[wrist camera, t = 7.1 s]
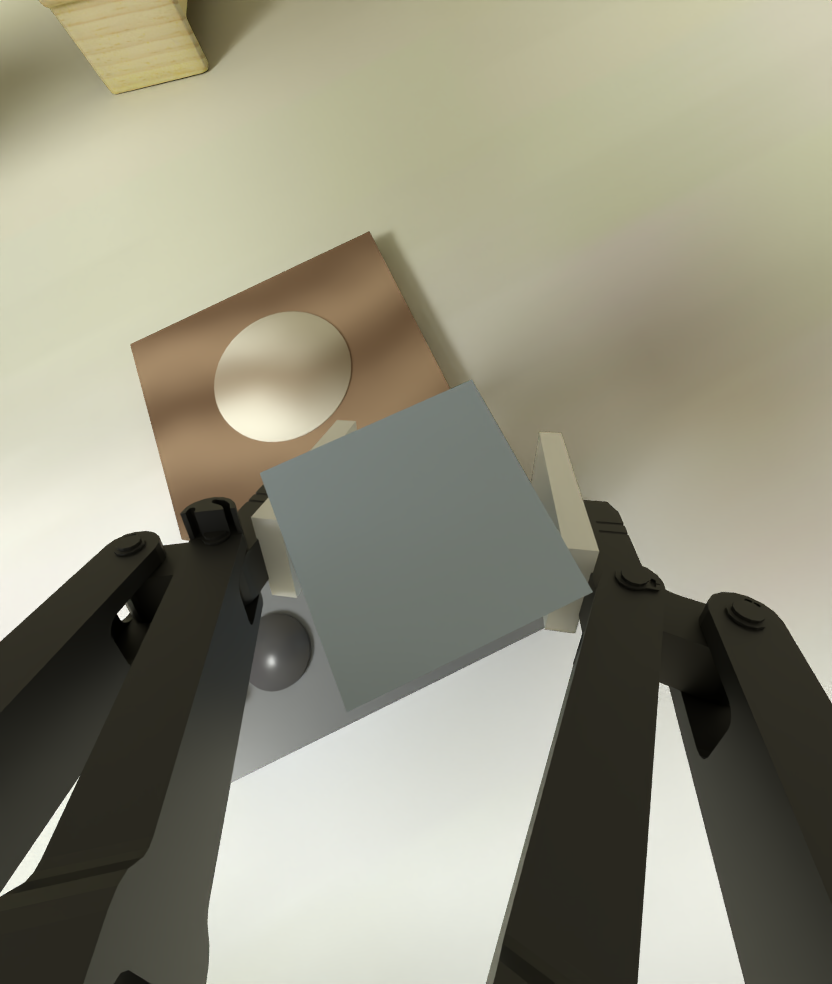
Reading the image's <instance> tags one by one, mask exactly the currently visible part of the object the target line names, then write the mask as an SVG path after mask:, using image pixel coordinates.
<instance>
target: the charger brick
mask: <svg viewBox="0 0 832 984" xmlns="http://www.w3.org/2000/svg"><path fill="white" fill-rule="evenodd" d="M260 475H261V478H262V481H263V484H264V486H265V489H266V492H267V495H268V497H269V500H270V503H271V506H272V508H273V511H274V514H275V517H276V519H277V522H278V525H279V528H280V530H281V533H282V536H283V539H284V541H285V544H286V547H287V550H288V552H289V555H290V558H291V561H292V563H293V566H294V569H295V572H296V574H297V577H298V580H299V583H300V585H301V588H302V591H303V593H304V596H305V599H306V602H307V604H308V607H309V610H310V613H311V615H312V618H313V621H314V624H315V626H316V629H317V632H318V635H319V637H320V640H321V643H322V646H323V648H324V651H325V654H326V657H327V659H328V662H329V665H330V668H331V670H332V673H333V676H334V679H335V681H336V684H337V687H338V690H339V692H340V695H341V698H342V701H343V703H344V706H345V709H346V711H347V712H349V711H351V710H353V709H355V708H357V707H359V706H361V705H363V704H365V703H367V702H369V701H371V700H373V699H375V698H377V697H379V696H381V695H384V694H386V693H388V692H390V691H392V690H394V689H396V688H398V687H400V686H402V685H404V684H406V683H408V682H410V681H412V680H414V679H416V678H418V677H420V676H422V675H424V674H426V673H429V672H431V671H433V670H435V669H437V668H439V667H441V666H443V665H445V664H447V663H449V662H451V661H453V660H455V659H457V658H459V657H461V656H463V655H465V654H467V653H469V652H471V651H474V650H476V649H478V648H480V647H482V646H484V645H486V644H488V643H490V642H492V641H494V640H496V639H498V638H500V637H502V636H504V635H506V634H508V633H510V632H512V631H514V630H516V629H519V628H521V627H523V626H525V625H527V624H529V623H531V622H533V621H535V620H537V619H539V618H541V617H543V616H545V615H547V614H549V613H551V612H553V611H555V610H557V609H559V608H561V607H564V606H566V605H568V604H570V603H572V602H574V601H576V600H578V599H580V598H582V597H584V596H586V595H588V594H590V593H592V592H593V591H592V590H591V588H590V586H589V584H588V583H587V581H586V579H585V577H584V576H583V574H582V572H581V570H580V569H579V567H578V565H577V563H576V562H575V560H574V558H573V556H572V555H571V553H570V551H569V549H568V547H567V546H566V544H565V542H564V540H563V539H562V537H561V535H560V533H559V532H558V530H557V528H556V526H555V525H554V523H553V521H552V519H551V518H550V516H549V514H548V512H547V511H546V509H545V507H544V505H543V504H542V502H541V500H540V498H539V497H538V495H537V493H536V491H535V490H534V488H533V486H532V484H531V483H530V481H529V479H528V477H527V476H526V474H525V472H524V470H523V469H522V467H521V465H520V463H519V462H518V460H517V458H516V456H515V454H514V453H513V451H512V449H511V447H510V446H509V444H508V442H507V440H506V439H505V437H504V435H503V433H502V432H501V430H500V428H499V426H498V425H497V423H496V421H495V419H494V418H493V416H492V414H491V412H490V411H489V409H488V407H487V405H486V404H485V402H484V400H483V398H482V397H481V395H480V393H479V391H478V390H477V388H476V386H475V384H474V383H473V381H472V380H470V381H467V382H465V383H463V384H460V385H458V386H456V387H454V388H451V389H449V390H447V391H445V392H442V393H440V394H438V395H435V396H433V397H431V398H429V399H426V400H424V401H422V402H420V403H417V404H415V405H413V406H411V407H408V408H406V409H404V410H401V411H399V412H397V413H395V414H392V415H390V416H388V417H386V418H383V419H381V420H379V421H376V422H374V423H372V424H370V425H367V426H365V427H363V428H361V429H358V430H356V431H354V432H352V433H349V434H347V435H345V436H342V437H340V438H338V439H336V440H333V441H331V442H329V443H327V444H324V445H322V446H320V447H317V448H315V449H313V450H311V451H308V452H306V453H304V454H302V455H299V456H297V457H295V458H293V459H290V460H288V461H286V462H283V463H281V464H279V465H277V466H274V467H272V468H270V469H268V470H265V471H263V472H261V473H260Z"/></svg>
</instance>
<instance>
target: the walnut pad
mask: <svg viewBox="0 0 832 984" xmlns="http://www.w3.org/2000/svg"><path fill="white" fill-rule="evenodd" d="M130 345H131V349H132V353H133V357H134V360H135V364H136V368H137V372H138V376H139V379H140V383H141V387H142V391H143V394H144V398H145V402H146V406H147V409H148V413H149V417H150V421H151V425H152V428H153V432H154V436H155V440H156V443H157V447H158V451H159V455H160V459H161V462H162V466H163V470H164V474H165V477H166V481H167V485H168V489H169V493H170V496H171V500H172V504H173V508H174V511H175V515H176V519H177V523H178V527H179V530H180V534H181V538H182V539H183V540H188V541H190V538H189V536H188V533H187V531H186V528H185V525H184V523H183V520H182V518H181V515H180V513H181V512H182V511H183V510H184V509H185V508H186V507H187V506H189V505H191V504H192V503H194V502H197V501H200V500H202V499H206V498H212V497H225V498H229V499H231V500H232V501H234V502H235V504H236V508H237V511H238V510H239V509H240V508H241V507H242V506H243V505H244V504H245V503H246V502H249V499H250V498H251V497H252V496H253V495H254V494H256V492H257V490H258V489H259V488H260V487H261V486H262V485H263V481H262V478H261V475H260V473H261V472H263V471H265V470H268V469H270V468H272V467H274V466H277V465H279V464H281V463H283V462H286V461H288V460H290V459H293V458H295V457H297V456H299V455H302V454H304V453H306V452H308V451H310V450H311V449H312V448H313V447H314V445H315V444H316V443H317V442H318V441H319V440H320V439H321V438H322V436H323V435H324V434H325V433H326V432H327V431H328V430H329V429H330V427H331V426H332V425H333V424H334V423H335V422H336V421H337V420H346V421H356V427H357V430H358V429H361V428H363V427H365V426H367V425H370V424H372V423H374V422H376V421H379V420H381V419H383V418H386V417H388V416H390V415H392V414H395V413H397V412H399V411H401V410H404V409H406V408H408V407H411V406H413V405H415V404H417V403H420V402H422V401H424V400H426V399H429V398H431V397H433V396H435V395H438V394H440V393H442V392H445V391H447V390H449V389H450V387H449V385H448V383H447V381H446V380H445V378H444V376H443V374H442V372H441V370H440V368H439V366H438V364H437V362H436V360H435V358H434V356H433V354H432V352H431V350H430V348H429V346H428V344H427V343H426V341H425V339H424V337H423V335H422V333H421V331H420V329H419V327H418V325H417V323H416V321H415V319H414V317H413V315H412V313H411V311H410V309H409V307H408V306H407V304H406V302H405V300H404V298H403V296H402V294H401V292H400V290H399V288H398V286H397V284H396V282H395V280H394V278H393V276H392V274H391V272H390V270H389V269H388V267H387V265H386V263H385V261H384V259H383V257H382V255H381V253H380V251H379V249H378V247H377V245H376V243H375V241H374V239H373V237H372V235H371V234H370V232H367V233H365V234H363V235H361V236H358V237H356V238H354V239H352V240H350V241H348V242H346V243H344V244H342V245H339V246H337V247H335V248H333V249H331V250H329V251H327V252H325V253H322V254H320V255H318V256H316V257H314V258H312V259H310V260H308V261H306V262H303V263H301V264H299V265H297V266H295V267H293V268H291V269H289V270H287V271H284V272H282V273H280V274H278V275H276V276H274V277H272V278H270V279H268V280H265V281H263V282H261V283H259V284H257V285H255V286H253V287H251V288H248V289H246V290H244V291H242V292H240V293H238V294H236V295H234V296H232V297H229V298H227V299H225V300H223V301H221V302H219V303H217V304H215V305H213V306H210V307H208V308H206V309H204V310H202V311H200V312H198V313H196V314H194V315H191V316H189V317H187V318H185V319H183V320H181V321H179V322H177V323H175V324H172V325H170V326H168V327H166V328H164V329H162V330H160V331H158V332H155V333H153V334H151V335H149V336H147V337H145V338H143V339H141V340H139V341H136V342H134V343H132V344H130Z"/></svg>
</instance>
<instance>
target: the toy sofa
mask: <svg viewBox="0 0 832 984" xmlns="http://www.w3.org/2000/svg"><path fill="white" fill-rule="evenodd" d="M39 1H40V2H41V4H43V5H44V6H45V7H48V8H50V9H51V11H52V12H53V13H54V15H55V16H56V17H57V19H58V20H59V22H60V23H61V24H62V26H63V27H64V28H65V30H66V31H67V32H68V34H69V35H70V36H71V38H72V39H73V41H74V42H75V43H76V45H77V46H78V47H79V49H80V50H81V52H82V53H83V54H84V56H85V57H86V59H87V60H88V61H89V63H90V64H91V66H92V67H93V68H94V70H95V71H96V73H97V74H98V75H99V77H100V78H101V79H102V81H103V82H104V84H105V85H106V86H107V88H108V89H109V90H110V91H111V92H112V93H113V94H118V93H122V92H127V91H131V90H136V89H140V88H144V87H148V86H152V85H156V84H160V83H164V82H168V81H172V80H176V79H180V78H184V77H188V76H192V75H196V74H200V73H203V72H205V71H207V70H208V61H207V59H206V57H205V55H204V53H203V51H202V49H201V47H200V45H199V43H198V41H197V39H196V37H195V35H194V33H193V31H192V29H191V27H190V25H189V23H188V21H187V17H186V10H187V0H39Z"/></svg>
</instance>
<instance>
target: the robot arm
mask: <svg viewBox="0 0 832 984" xmlns="http://www.w3.org/2000/svg"><path fill="white" fill-rule="evenodd" d="M356 430H357V427H356V421H346V420H337V421H336V422H335V423H334V424H333V425H332V426H331V427H330V429H329V430H328V431H327V432H326V433H325V434H324V435H323V436H322V438H321V439H320V440H319V441H318V442H317V443H316V444H315V445H314V447H313V448H312V449H311V450H313V449H315V448H317V447H320V446H322V445H324V444H327V443H329V442H331V441H333V440H336V439H338V438H340V437H342V436H345V435H347V434H349V433H352V432H354V431H356ZM311 450H310V451H311ZM531 484H532V486H533V488H534V490H535V491H536V493H537V495H538V497H539V498H540V500H541V502H542V504H543V505H544V507H545V509H546V511H547V512H548V514H549V516H550V518H551V519H552V521H553V523H554V525H555V526H556V528H557V530H558V532H559V533H560V535H561V537H562V539H563V540H564V542H565V544H566V546H567V547H568V549H569V551H570V553H571V555H572V556H573V558H574V560H575V562H576V563H577V565H578V567H579V569H580V570H581V572H582V574H583V576H584V577H585V579H586V581H587V583H588V584H589V586H590V588H591V590H592V591H593V592H592V593H590V594H588V595H586V596H584V597H582V598H580V599H578V600H576V601H574V602H572V603H570V604H568V605H566V606H564V607H561V608H559V609H557V610H555V611H553V612H551V613H549V614H547V615H545V616H543V619H544V628H545V630H553V631H560V632H568V633H575V632H576V629H577V625H578V622H579V619H580V624H581V628H582V636H581V640H580V643H579V646H578V649H577V653H576V656H575V659H574V662H573V664H574V665H573V668H572V672H571V675H570V679H569V683H568V686H567V690H566V694H565V697H564V701H563V705H562V708H561V712H560V716H559V719H558V723H557V726H556V730H555V734H554V737H553V741H552V745H551V748H550V752H549V756H548V759H547V763H546V767H545V770H544V774H543V778H542V781H541V785H540V788H539V792H538V796H537V799H536V803H535V807H534V810H533V814H532V818H531V821H530V825H529V829H528V832H527V836H526V839H525V843H524V847H523V850H522V854H521V858H520V861H519V865H518V869H517V872H516V876H515V880H514V883H513V887H512V891H511V894H510V898H509V901H508V905H507V909H506V912H505V916H504V920H503V923H502V927H501V931H500V934H499V938H498V942H497V945H496V949H495V952H494V956H493V960H492V963H491V967H490V971H489V974H488V978H487V982H486V984H637V982H638V968H639V954H640V941H641V927H642V913H643V899H644V885H645V871H646V857H647V843H648V829H649V815H650V802H651V788H652V774H653V760H654V746H655V732H656V718H657V704H658V690H659V682H660V683H663V684H665V685H668V686H669V688H670V692H671V696H672V700H673V704H674V708H675V712H676V716H677V720H678V724H679V727H680V731H681V735H682V739H683V743H684V747H685V751H686V755H687V759H688V763H689V767H690V770H691V774H692V778H693V782H694V786H695V790H696V794H697V798H698V802H699V806H700V809H701V813H702V817H703V821H704V825H705V829H706V833H707V837H708V841H709V845H710V849H711V852H712V856H713V860H714V864H715V868H716V872H717V876H718V880H719V884H720V888H721V892H722V895H723V899H724V903H725V907H726V911H727V915H728V919H729V923H730V927H731V931H732V935H733V938H734V942H735V946H736V950H737V954H738V958H739V962H740V966H741V970H742V974H743V977H744V981H745V984H832V703H831V701H830V700H829V698H828V696H827V695H826V693H825V691H824V689H823V688H822V686H821V684H820V683H819V681H818V679H817V678H816V676H815V674H814V673H813V671H812V669H811V668H810V666H809V664H808V663H807V661H806V659H805V658H804V656H803V654H802V653H801V651H800V649H799V648H798V646H797V644H796V642H795V641H794V639H793V637H792V636H791V634H790V632H789V631H788V629H787V627H786V626H785V624H784V622H783V621H782V620H781V619H780V618H779V617H778V615H777V614H776V613H775V612H774V611H772V610H771V609H769V608H768V607H767V606H765V605H764V604H762V603H760V602H758V601H756V600H754V599H752V598H750V597H748V596H744V595H740V594H737V593H729V592H720V593H717V594H714V595H712V596H711V597H710V599H709V600H708V602H707V603H706V604H704V603H701V602H698V601H695V600H692V599H688V598H685V597H682V596H679V595H677V594H674V593H671V592H669V591H667V590H666V589H665V586H664V583H663V582H662V580H661V579H660V578H659V577H658V576H657V575H656V574H655V573H653V572H652V571H651V570H649V569H648V568H646V567H643V566H642V565H641V563H640V560H639V558H638V556H637V554H636V551H635V549H634V547H633V544H632V542H631V540H630V538H629V535H627V531H626V528H625V526H623V521H622V519H621V517H620V515H619V512H618V511H617V510H615V509H614V508H613V507H612V506H611V505H610V504H609V503H608V502H602V501H589V500H583V499H582V496H581V493H580V490H579V487H578V483H577V480H576V477H575V474H574V471H573V468H572V465H571V462H570V458H569V455H568V452H567V449H566V446H565V443H564V440H563V437H562V433H555V432H539V437H538V443H537V449H536V456H535V462H534V468H533V474H532V481H531ZM180 515H181V518H182V520H183V523H184V525H185V528H186V531H187V533H188V536H189V538H190V541H189V543H181V544H172V545H163V544H162V542H161V540H160V538H159V536H158V535H157V534H156V533H154V532H149V531H142V532H134V533H131V534H130V533H129V534H126V535H123V536H122V537H120V538H118V539H115V540H114V541H112V542H111V543H109V544H108V545H107V546H105V547H104V548H103V549H102V550H101V551H100V552H99V553H98V554H97V555H95V556H94V557H93V558H92V559H91V560H90V561H89V562H88V563H87V564H86V565H84V566H83V567H82V568H81V569H80V570H79V571H78V572H77V573H76V574H75V575H73V576H72V577H71V578H70V579H69V580H68V581H67V582H66V583H65V584H63V585H62V586H61V587H60V588H59V589H58V590H57V591H56V592H55V593H54V594H52V595H51V596H50V597H49V598H48V599H47V600H46V601H45V602H44V603H43V604H41V605H40V606H39V607H38V608H37V609H36V610H35V611H34V612H33V613H31V614H30V615H29V616H28V617H27V618H26V619H25V620H24V621H23V622H22V623H20V624H19V625H18V626H17V627H16V628H15V629H14V630H13V631H12V632H11V633H9V634H8V635H7V636H6V637H5V638H4V639H3V640H2V641H1V642H0V892H1V891H2V889H3V888H4V887H5V885H6V884H7V882H8V881H9V879H10V878H11V876H12V875H13V873H14V872H15V870H16V869H17V867H18V866H19V864H20V863H21V862H22V860H23V859H24V857H25V856H26V854H27V853H28V851H29V850H30V848H31V847H32V845H33V844H34V842H35V841H36V839H37V838H38V837H39V835H40V834H41V832H42V831H43V829H44V828H45V826H46V825H47V823H48V822H49V820H50V819H51V817H52V816H53V815H54V813H55V812H56V810H57V809H58V807H59V806H60V804H61V803H62V801H63V800H64V798H65V797H66V795H67V794H68V792H69V791H70V790H71V788H72V787H73V785H74V784H75V782H76V781H77V779H78V778H79V779H78V781H77V784H76V786H75V788H74V790H73V792H72V794H71V796H70V799H69V801H68V803H67V805H66V807H65V809H64V812H63V814H62V816H61V818H60V820H59V822H58V824H57V827H56V829H55V831H54V833H53V835H52V837H51V839H50V842H49V844H48V846H47V848H46V850H45V852H44V855H43V857H42V859H41V861H40V862H39V864H38V866H37V868H36V869H35V871H34V873H33V874H32V875H31V876H30V877H29V878H28V879H27V881H26V882H25V883H23V884H21V885H19V886H18V887H16V888H14V889H13V890H11V891H9V892H7V893H6V894H4V895H2V896H1V897H0V984H206V980H207V972H208V964H209V937H208V925H207V919H208V907H209V900H210V894H211V889H212V883H213V878H214V872H215V867H216V861H217V856H218V850H219V845H220V839H221V834H222V828H223V823H224V817H225V812H226V806H227V801H228V795H229V790H230V784H231V779H232V773H233V768H234V762H235V757H236V751H237V746H238V740H239V735H240V729H241V724H242V718H243V713H244V707H245V702H246V696H247V691H248V685H249V680H250V674H251V669H252V663H253V658H254V652H255V647H256V641H257V636H258V630H259V625H260V619H261V614H262V608H263V597H262V594H261V590H262V588H263V587H264V585H265V584H266V582H267V581H268V582H269V585H270V589H271V593H272V595H277V596H285V597H293V598H297V597H298V595H299V593H300V592H301V590H302V588H301V585H300V583H299V580H298V577H297V574H296V572H295V569H294V566H293V563H292V561H291V558H290V555H289V552H288V550H287V547H286V544H285V541H284V539H283V536H282V533H281V530H280V528H279V525H278V522H277V519H276V517H275V514H274V511H273V508H272V506H271V503H270V500H269V497H268V495H267V492H266V489H265V486H264V484H263V485H262V486H261V487H260V488H259V489H258V490H257V492H256V494H254V495H253V496H252V497H251V498H250V499H249V502H246V503H245V504H244V505H243V506H242V507H241V508H240V509H239V510H238V511H237V508H236V504H235V502H234V501H232V500H231V499H229V498H225V497H212V498H206V499H202V500H200V501H197V502H194V503H192V504H191V505H189V506H187V507H186V508H185V509H184V510H183V511H182V512H181V513H180ZM125 604H126V606H127V608H128V610H129V612H130V613H129V615H128V616H127V617H126V618H125V619H124V620H122V621H121V620H120V619H119V617H118V615H117V613H118V612H119V611H120V610H121V608H122V607H123V606H124V605H125ZM79 776H80V777H79Z"/></svg>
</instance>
